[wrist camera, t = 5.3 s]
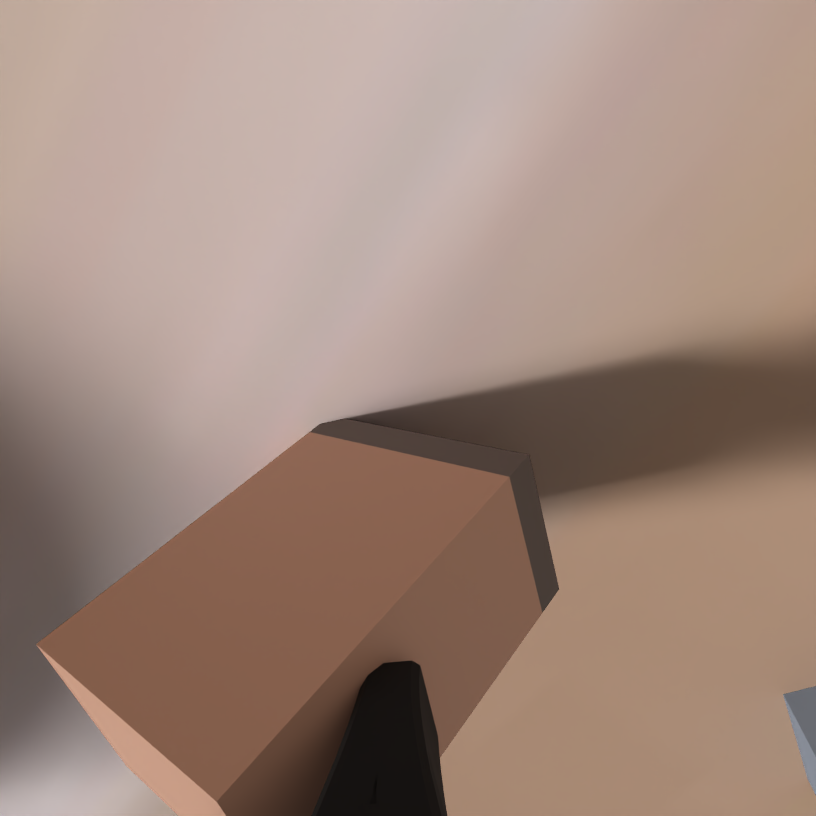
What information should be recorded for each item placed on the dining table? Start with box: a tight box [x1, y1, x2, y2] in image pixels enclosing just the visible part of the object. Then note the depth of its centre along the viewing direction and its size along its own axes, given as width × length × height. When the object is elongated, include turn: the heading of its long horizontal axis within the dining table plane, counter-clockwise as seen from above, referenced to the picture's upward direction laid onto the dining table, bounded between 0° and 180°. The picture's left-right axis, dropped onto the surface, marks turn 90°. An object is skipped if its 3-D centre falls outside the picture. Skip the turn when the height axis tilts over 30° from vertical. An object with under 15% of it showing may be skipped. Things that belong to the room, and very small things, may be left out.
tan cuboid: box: [36, 419, 559, 816], centre depth 13 cm, size 3×5×7 cm
